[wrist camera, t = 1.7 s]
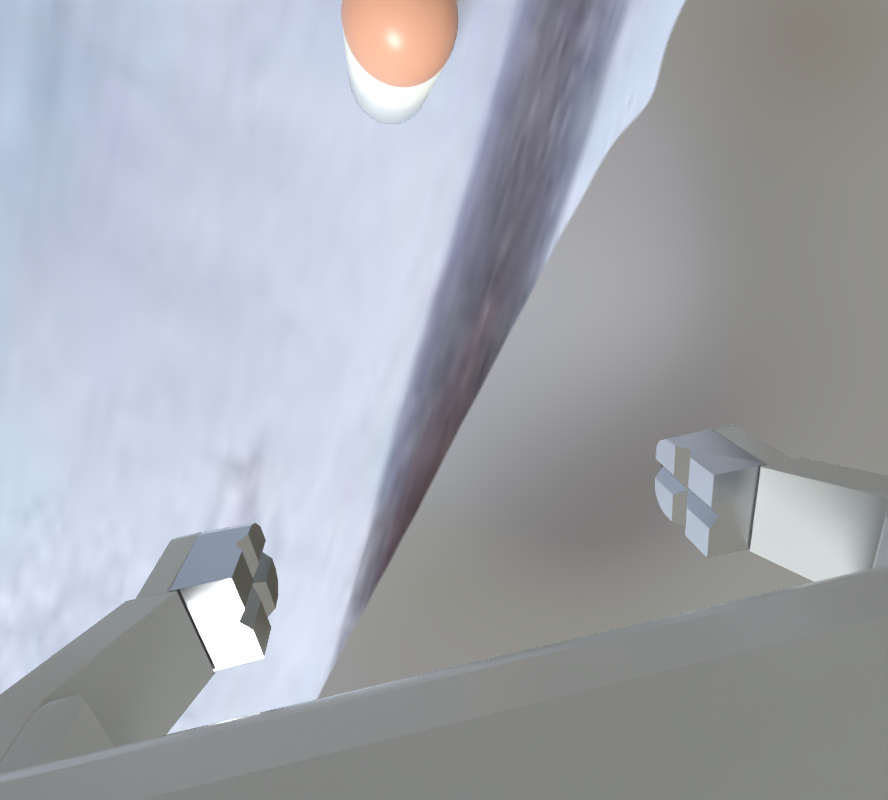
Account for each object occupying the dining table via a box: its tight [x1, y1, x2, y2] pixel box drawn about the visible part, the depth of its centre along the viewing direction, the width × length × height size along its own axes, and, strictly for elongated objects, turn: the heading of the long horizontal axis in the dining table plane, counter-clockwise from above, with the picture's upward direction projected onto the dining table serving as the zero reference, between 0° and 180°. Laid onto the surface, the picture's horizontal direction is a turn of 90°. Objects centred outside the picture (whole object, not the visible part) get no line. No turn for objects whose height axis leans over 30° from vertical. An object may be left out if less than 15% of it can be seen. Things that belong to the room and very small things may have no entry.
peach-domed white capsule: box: [341, 0, 458, 124], centre depth 26 cm, size 5×5×14 cm
